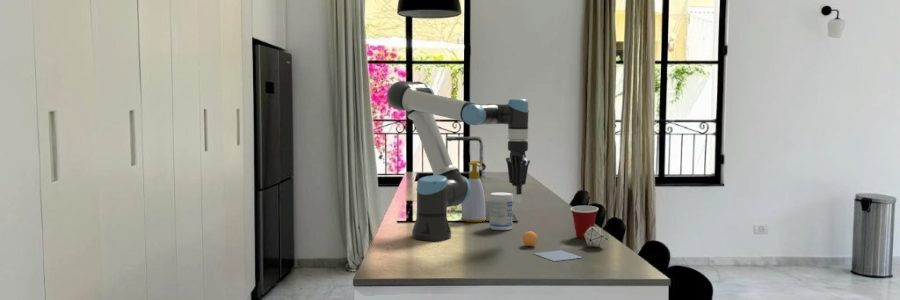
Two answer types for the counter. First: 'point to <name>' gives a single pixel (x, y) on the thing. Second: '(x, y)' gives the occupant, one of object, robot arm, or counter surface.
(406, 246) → the counter surface
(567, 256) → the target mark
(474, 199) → the soap bottle
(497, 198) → the supplement tub
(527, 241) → the ball
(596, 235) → the game die
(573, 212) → the plastic cup
